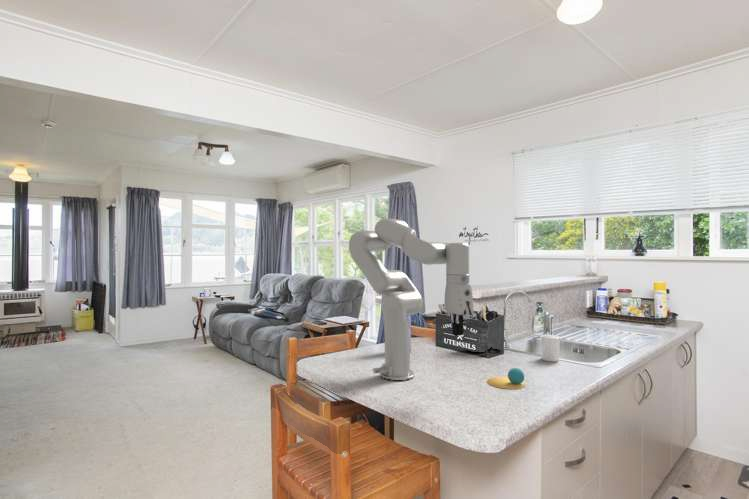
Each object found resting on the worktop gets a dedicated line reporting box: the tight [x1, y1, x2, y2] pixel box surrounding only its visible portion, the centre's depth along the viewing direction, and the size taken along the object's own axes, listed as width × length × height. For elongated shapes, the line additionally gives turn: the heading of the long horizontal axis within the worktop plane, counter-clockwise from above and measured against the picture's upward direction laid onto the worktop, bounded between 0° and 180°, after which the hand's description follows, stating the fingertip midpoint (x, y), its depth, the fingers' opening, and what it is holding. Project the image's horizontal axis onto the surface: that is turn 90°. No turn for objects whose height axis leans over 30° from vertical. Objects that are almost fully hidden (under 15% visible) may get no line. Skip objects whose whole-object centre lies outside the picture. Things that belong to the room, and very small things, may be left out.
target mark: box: [486, 376, 526, 390], centre depth 147 cm, size 13×13×1 cm
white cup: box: [539, 333, 561, 362], centre depth 178 cm, size 8×8×10 cm
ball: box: [507, 367, 525, 384], centre depth 146 cm, size 6×6×6 cm
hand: (458, 334), depth 138 cm, fingers closed
